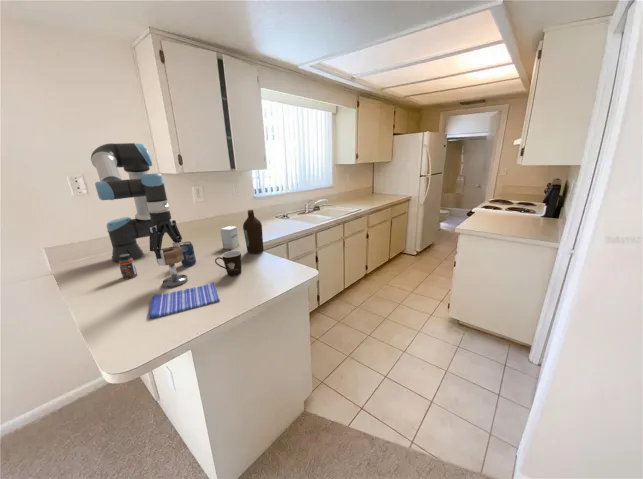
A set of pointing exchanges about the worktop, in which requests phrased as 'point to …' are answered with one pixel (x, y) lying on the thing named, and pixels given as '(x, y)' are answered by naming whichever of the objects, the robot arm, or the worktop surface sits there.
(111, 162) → the robot arm
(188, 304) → the dish towel
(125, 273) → the supplement bottle
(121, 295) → the worktop surface
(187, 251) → the soda can
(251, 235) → the olive oil
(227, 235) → the supplement box
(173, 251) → the walnut ring
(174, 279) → the silver peg stand
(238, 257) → the coffee mug
